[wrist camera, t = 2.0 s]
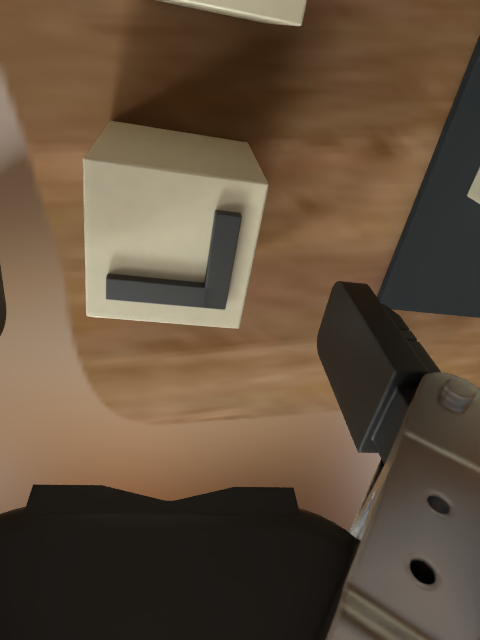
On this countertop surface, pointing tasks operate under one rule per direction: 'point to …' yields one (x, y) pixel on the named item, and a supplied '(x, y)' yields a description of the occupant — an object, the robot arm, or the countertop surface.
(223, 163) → the tile
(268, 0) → the tile
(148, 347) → the countertop surface
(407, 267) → the word mat
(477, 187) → the tile
